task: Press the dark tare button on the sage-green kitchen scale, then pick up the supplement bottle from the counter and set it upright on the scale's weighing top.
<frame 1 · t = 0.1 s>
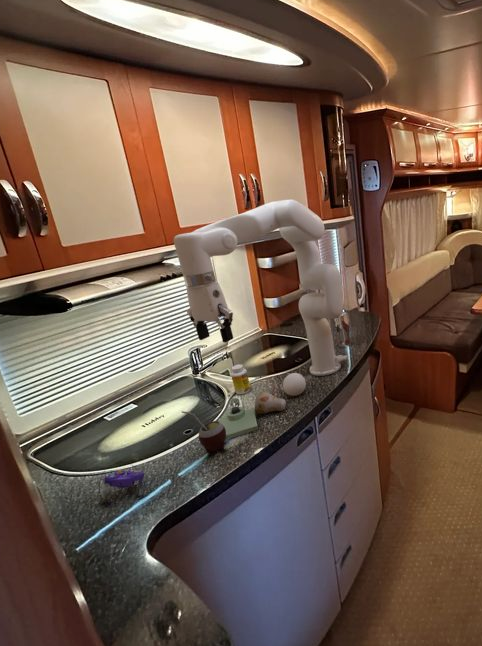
hand: (216, 339, 104), 31 cm above the worktop, tool pointing down, fingers open, 9 cm apart
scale: (238, 425, 118), on the worktop
ball: (296, 394, 133), on the worktop
tare button: (235, 410, 121), point 3 cm above the worktop, slide at 0.1 cm
mate gourd: (215, 451, 107), on the worktop
supplement bottle: (243, 391, 141), on the worktop
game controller: (128, 493, 95), on the worktop
beer glass: (345, 344, 173), on the worktop
beige lumpy tapered piece: (272, 411, 125), on the worktop
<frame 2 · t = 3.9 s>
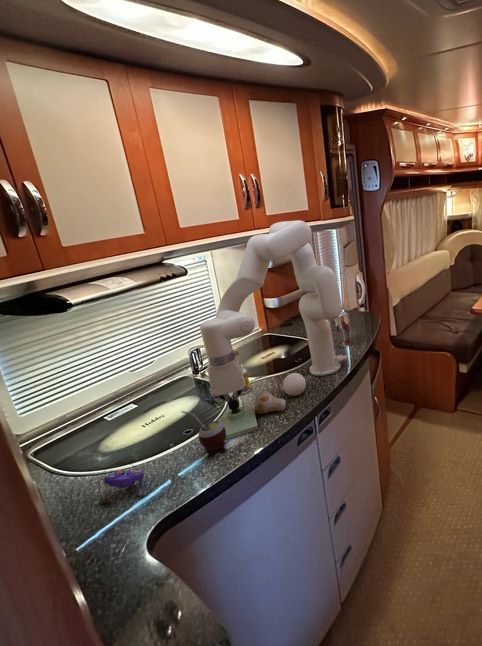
hand: (234, 410, 121), 4 cm above the worktop, tool pointing down, fingers closed
tare button: (236, 412, 121), point 3 cm above the worktop, slide at -0.5 cm, touching gripper
everything else where it was.
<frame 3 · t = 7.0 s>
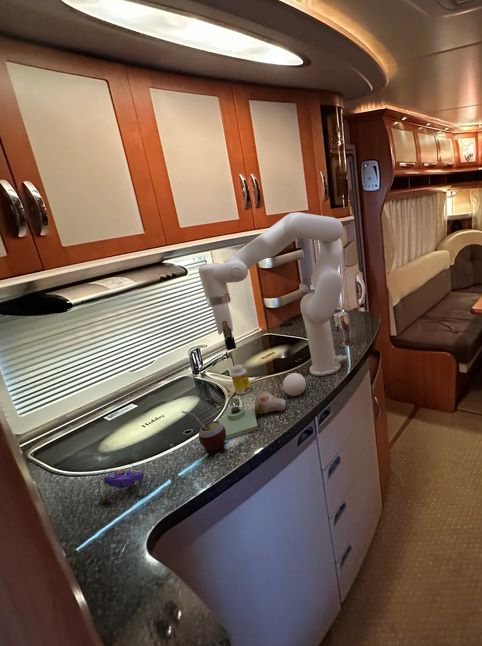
hand: (231, 348, 133), 18 cm above the worktop, tool pointing down, fingers closed
tare button: (235, 410, 121), point 3 cm above the worktop, slide at 0.1 cm
everything else where it was.
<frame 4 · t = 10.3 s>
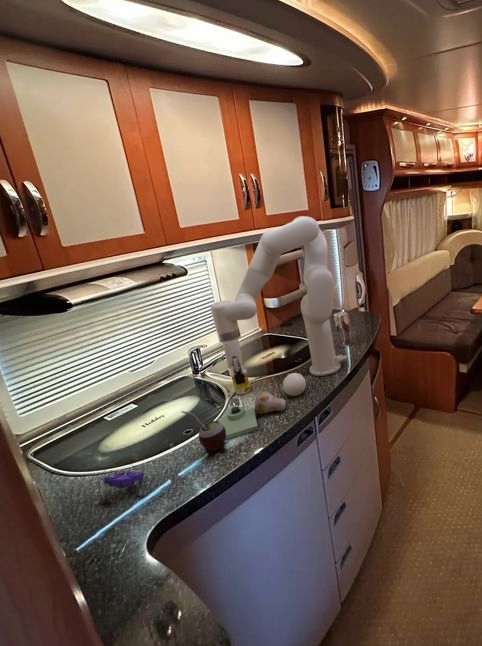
hand: (240, 379, 139), 5 cm above the worktop, tool pointing down, fingers closed on supplement bottle, 5 cm apart
supplement bottle: (243, 391, 141), on the worktop, touching gripper
everything else where it was.
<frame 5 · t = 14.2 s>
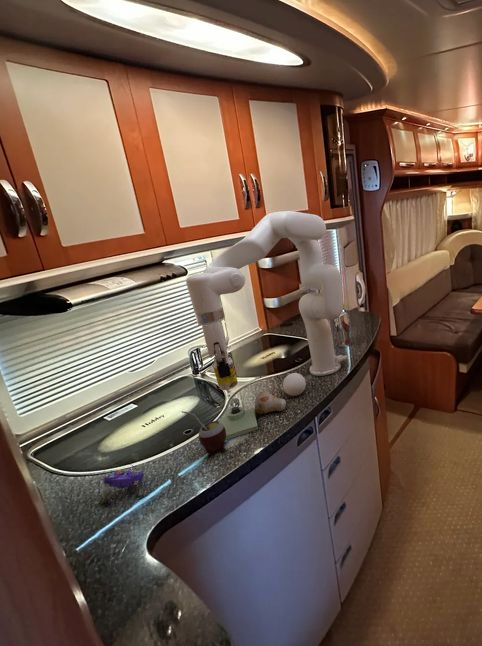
hand: (225, 372, 113), 19 cm above the worktop, tool pointing down, fingers closed on supplement bottle, 5 cm apart
supplement bottle: (229, 387, 114), point 14 cm above the worktop, touching gripper
everything else where it was.
when the fingers open (6 cm above the worktop, at t = 18.2 s): supplement bottle stays where it is, resting on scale.
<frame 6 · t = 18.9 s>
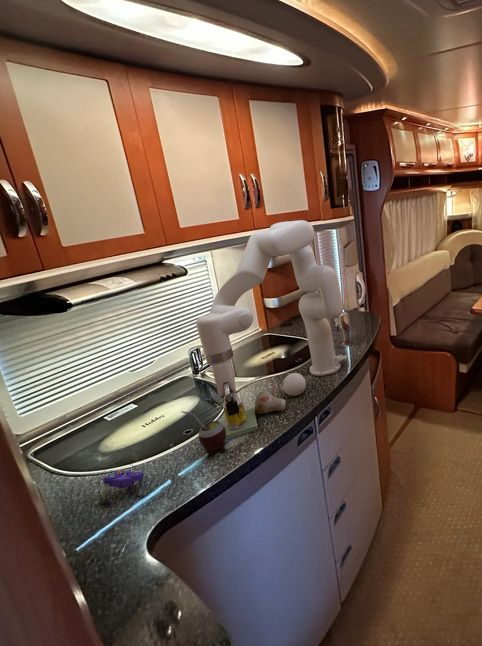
hand: (233, 406, 114), 8 cm above the worktop, tool pointing down, fingers open, 9 cm apart
supplement bottle: (238, 425, 116), point 1 cm above the worktop, touching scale
everything else where it was.
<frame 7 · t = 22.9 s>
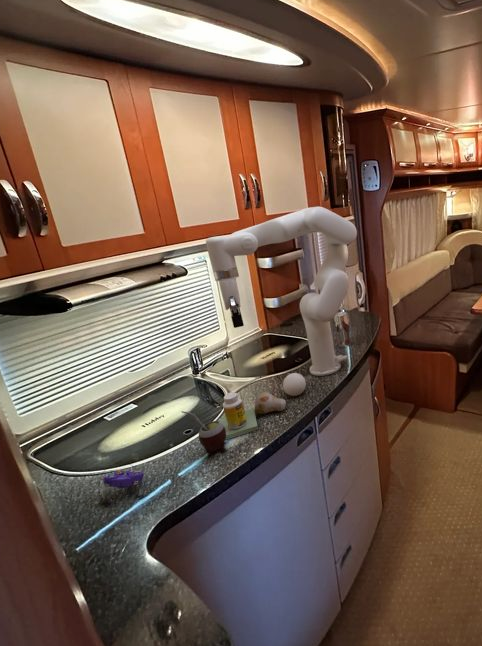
hand: (238, 323, 128), 28 cm above the worktop, tool pointing down, fingers open, 9 cm apart
nothing on the worktop moved.
at the end: tare button pushed in 0.9 cm at the most during the clip, back to where it started at the end; supplement bottle inside the target area on the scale (0.2 cm from its centre), point 1.2 cm above the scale's base; supplement bottle touching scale; supplement bottle tilted 0° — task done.
